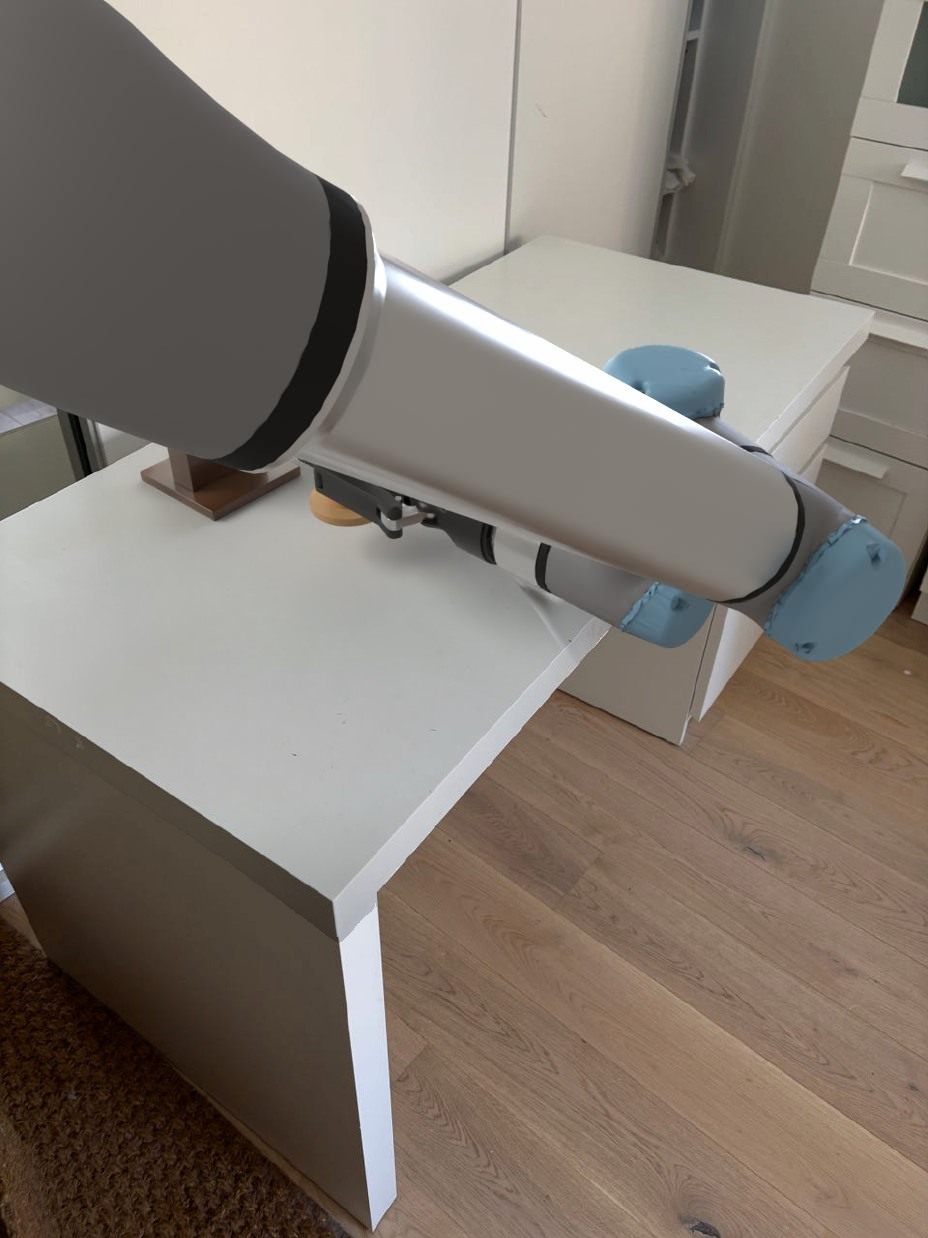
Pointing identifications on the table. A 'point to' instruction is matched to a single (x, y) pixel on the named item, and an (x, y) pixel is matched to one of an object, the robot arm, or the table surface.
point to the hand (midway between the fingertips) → (301, 420)
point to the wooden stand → (213, 482)
